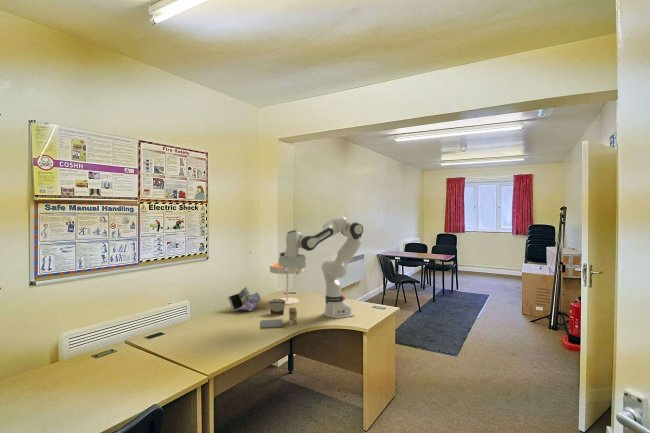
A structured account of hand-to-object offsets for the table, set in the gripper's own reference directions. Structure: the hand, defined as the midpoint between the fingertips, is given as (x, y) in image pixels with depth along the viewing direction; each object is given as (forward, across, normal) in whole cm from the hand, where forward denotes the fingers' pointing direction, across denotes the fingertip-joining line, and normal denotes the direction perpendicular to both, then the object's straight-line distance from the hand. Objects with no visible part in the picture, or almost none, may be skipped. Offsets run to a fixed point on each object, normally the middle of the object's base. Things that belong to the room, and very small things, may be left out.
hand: (291, 273), depth 231 cm
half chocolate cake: (+33, +17, -9) cm, 38 cm away
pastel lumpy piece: (+33, +44, -7) cm, 56 cm away
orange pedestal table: (+32, +28, -41) cm, 59 cm away
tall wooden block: (+32, -4, +5) cm, 33 cm away
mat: (+32, +7, +13) cm, 36 cm away
